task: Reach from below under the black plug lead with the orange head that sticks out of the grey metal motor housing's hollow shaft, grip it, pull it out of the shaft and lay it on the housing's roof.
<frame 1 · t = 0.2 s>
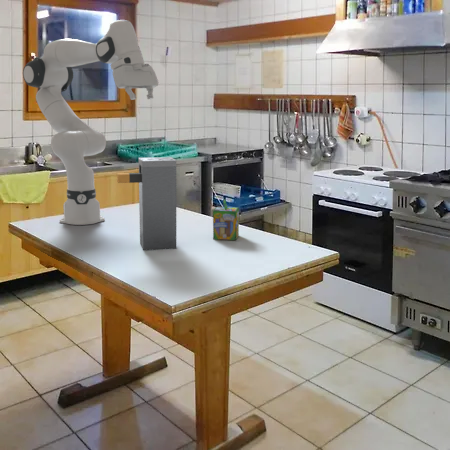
hand: (142, 99, 217), 52 cm above the table, tool tilted 20°, fingers open, 8 cm apart
plug rod: (143, 181, 207), point 24 cm above the table, touching housing
chalk box: (226, 237, 228), on the table
housing: (157, 246, 214), on the table
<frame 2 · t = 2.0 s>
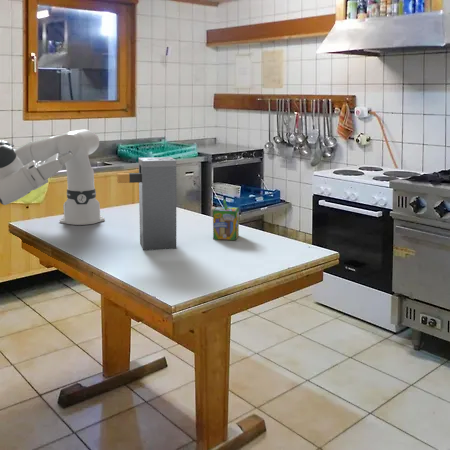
hand: (72, 153, 202), 34 cm above the table, tool pointing upward, fingers open, 8 cm apart
nothing on the table moved.
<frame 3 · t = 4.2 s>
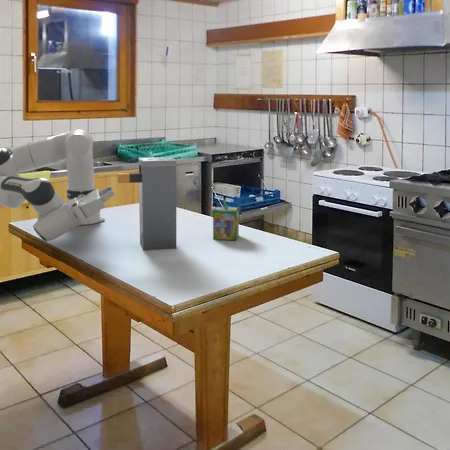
hand: (112, 189, 204), 21 cm above the table, tool pointing upward, fingers open, 8 cm apart
nothing on the table moved.
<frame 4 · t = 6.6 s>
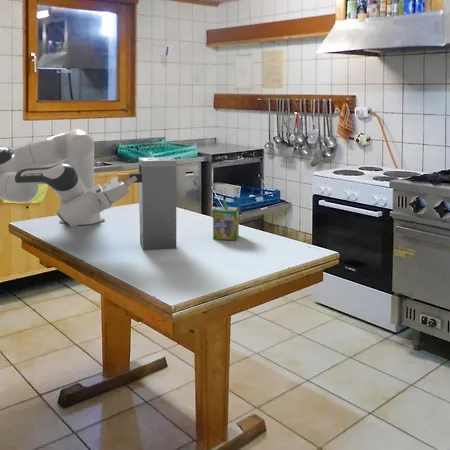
hand: (135, 176, 206), 26 cm above the table, tool pointing upward, fingers closed on plug rod, 3 cm apart
plug rod: (143, 181, 207), point 24 cm above the table, touching gripper, housing
everything else where it was.
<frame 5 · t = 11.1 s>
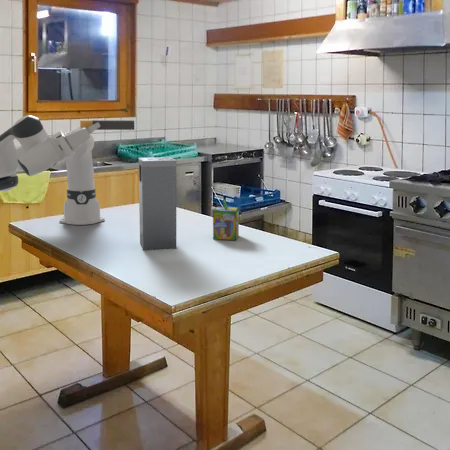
hand: (99, 123, 199), 44 cm above the table, tool pointing upward, fingers closed on plug rod, 3 cm apart
plug rod: (107, 129, 200), point 42 cm above the table, touching gripper
everything else where it was.
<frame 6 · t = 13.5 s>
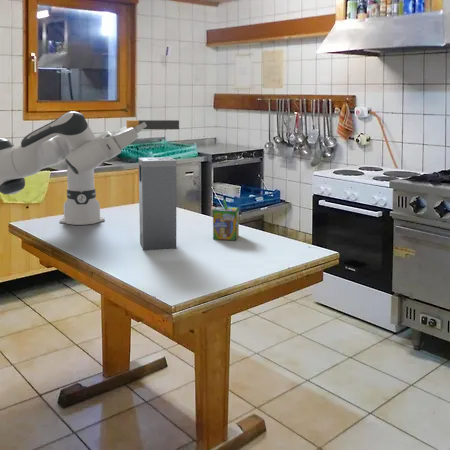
hand: (145, 123, 202), 44 cm above the table, tool pointing upward, fingers closed on plug rod, 3 cm apart
plug rod: (152, 129, 203), point 43 cm above the table, touching gripper
everything else where it was.
when the fingers open (38 cm above the table, at t = 15.6 s): plug rod drops 4 cm, resting on housing.
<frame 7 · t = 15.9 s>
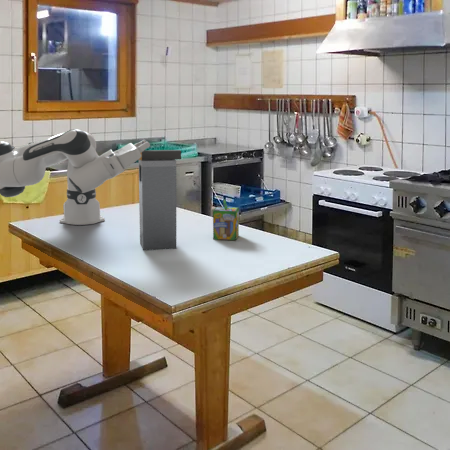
hand: (147, 142, 204), 38 cm above the table, tool pointing upward, fingers open, 6 cm apart
plug rod: (155, 159, 206), point 32 cm above the table, touching housing
everything else where it was.
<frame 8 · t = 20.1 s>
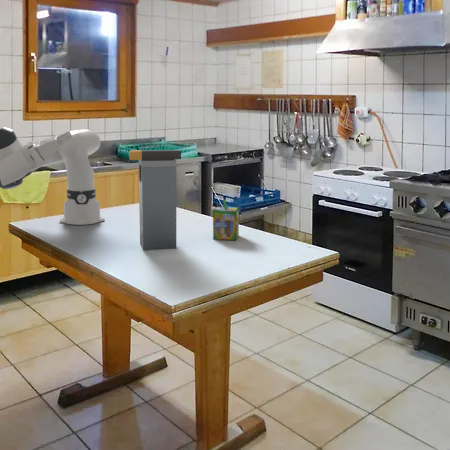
hand: (70, 134, 203), 40 cm above the table, tool pointing upward, fingers open, 8 cm apart
nothing on the table moved.
at the end: plug rod inside the target area (0.6 cm from its centre), point 32.0 cm above the table; the gripper is holding nothing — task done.
